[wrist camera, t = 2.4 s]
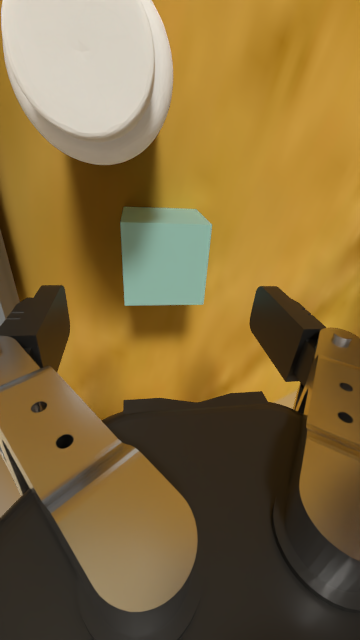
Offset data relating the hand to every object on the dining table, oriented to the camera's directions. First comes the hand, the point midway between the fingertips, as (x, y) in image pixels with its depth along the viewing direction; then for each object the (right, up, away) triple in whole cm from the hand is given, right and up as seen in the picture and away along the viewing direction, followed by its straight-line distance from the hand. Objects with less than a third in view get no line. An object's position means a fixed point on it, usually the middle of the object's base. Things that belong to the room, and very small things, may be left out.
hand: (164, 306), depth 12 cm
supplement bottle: (-3, +12, +4) cm, 13 cm away
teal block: (-1, +5, +9) cm, 10 cm away
